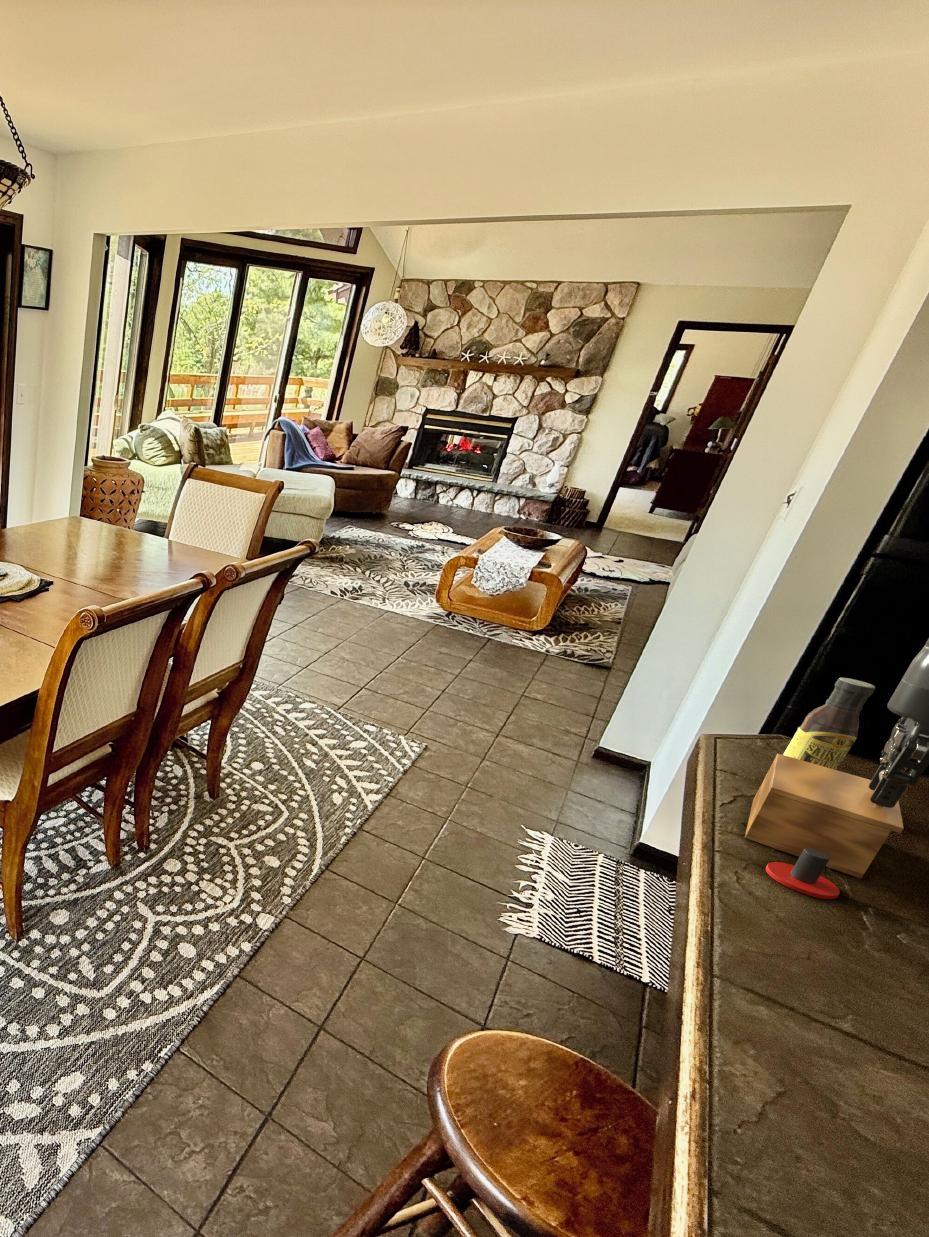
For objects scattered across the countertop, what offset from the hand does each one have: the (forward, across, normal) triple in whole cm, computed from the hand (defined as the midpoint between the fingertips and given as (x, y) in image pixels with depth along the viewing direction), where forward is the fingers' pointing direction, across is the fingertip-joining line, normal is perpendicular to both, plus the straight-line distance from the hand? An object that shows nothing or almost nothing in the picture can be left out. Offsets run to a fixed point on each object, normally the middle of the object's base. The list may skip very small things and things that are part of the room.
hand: (879, 797), depth 96 cm
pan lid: (+9, -16, +4) cm, 19 cm away
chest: (+9, 0, +5) cm, 10 cm away
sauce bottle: (+9, +19, +6) cm, 22 cm away
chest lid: (+1, 0, +4) cm, 4 cm away
